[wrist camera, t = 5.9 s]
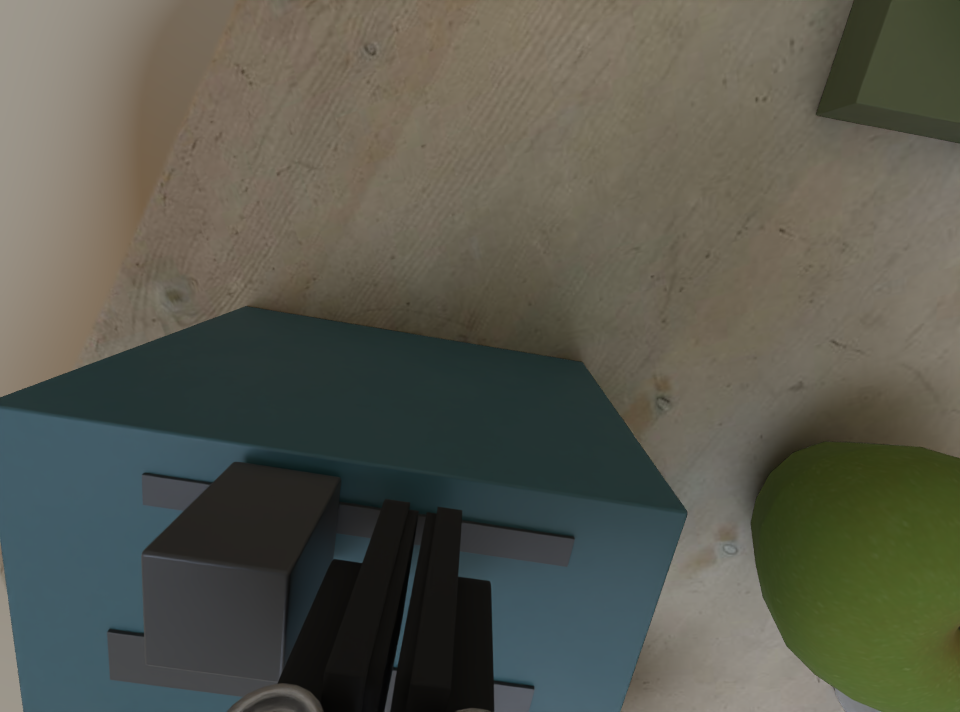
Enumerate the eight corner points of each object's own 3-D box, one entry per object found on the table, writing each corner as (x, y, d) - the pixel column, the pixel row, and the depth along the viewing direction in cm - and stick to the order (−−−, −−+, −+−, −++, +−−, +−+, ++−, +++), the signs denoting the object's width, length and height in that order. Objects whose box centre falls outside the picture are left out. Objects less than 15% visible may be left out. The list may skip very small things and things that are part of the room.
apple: (679, 439, 24) (813, 589, 14) (894, 364, 22) (1199, 473, 13) (730, 602, 26) (870, 820, 17) (923, 543, 25) (1192, 742, 16)
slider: (233, 459, 10) (138, 552, 8) (342, 475, 10) (290, 573, 8) (231, 549, 11) (143, 667, 8) (333, 564, 11) (281, 685, 8)
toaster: (245, 305, 22) (-26, 405, 10) (583, 361, 22) (691, 515, 11) (238, 525, 25) (28, 789, 13) (532, 568, 26) (575, 854, 14)
